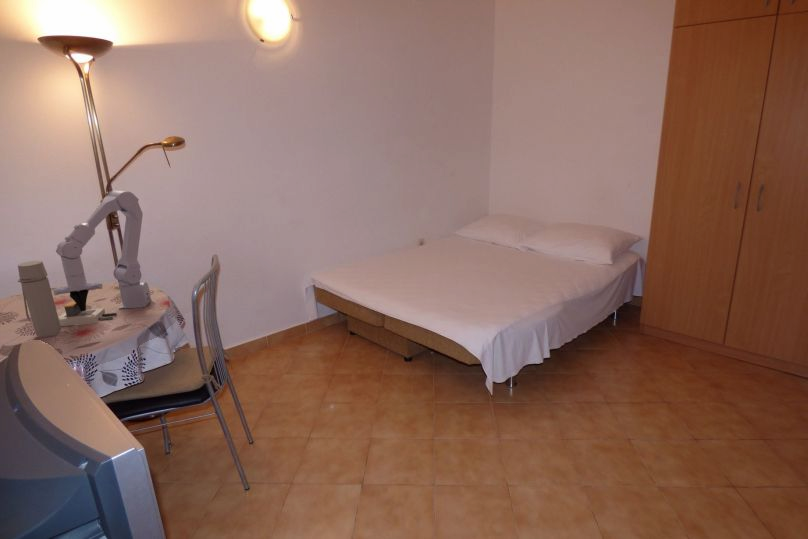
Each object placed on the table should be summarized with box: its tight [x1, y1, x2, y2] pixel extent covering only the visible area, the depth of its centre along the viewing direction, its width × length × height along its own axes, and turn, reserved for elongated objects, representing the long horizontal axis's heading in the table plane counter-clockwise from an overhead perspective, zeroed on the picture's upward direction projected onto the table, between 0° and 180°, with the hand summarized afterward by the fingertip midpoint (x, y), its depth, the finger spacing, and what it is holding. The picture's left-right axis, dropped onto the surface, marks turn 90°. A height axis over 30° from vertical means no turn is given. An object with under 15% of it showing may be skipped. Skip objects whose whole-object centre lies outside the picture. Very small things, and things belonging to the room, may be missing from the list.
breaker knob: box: [63, 300, 81, 316], centre depth 174 cm, size 3×4×4 cm, turn 9°
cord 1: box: [98, 316, 114, 321], centre depth 175 cm, size 5×1×1 cm, turn 99°
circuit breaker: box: [58, 308, 106, 327], centre depth 175 cm, size 13×8×3 cm, turn 99°
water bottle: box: [17, 260, 62, 339], centre depth 161 cm, size 9×8×25 cm
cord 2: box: [102, 312, 117, 317], centre depth 178 cm, size 5×1×1 cm, turn 99°
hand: (83, 310), depth 175 cm, fingers closed
